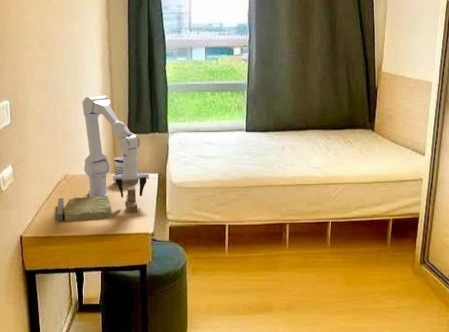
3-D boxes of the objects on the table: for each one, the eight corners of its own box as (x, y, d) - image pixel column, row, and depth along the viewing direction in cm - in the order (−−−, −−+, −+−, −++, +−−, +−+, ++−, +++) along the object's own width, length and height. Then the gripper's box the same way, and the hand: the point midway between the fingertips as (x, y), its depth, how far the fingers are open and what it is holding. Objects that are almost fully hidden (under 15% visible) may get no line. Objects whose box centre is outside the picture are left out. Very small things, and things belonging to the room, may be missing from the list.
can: (109, 182, 266) (108, 158, 263) (126, 177, 275) (125, 153, 272) (128, 186, 260) (127, 161, 257) (143, 180, 269) (143, 156, 266)
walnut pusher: (126, 201, 240) (126, 183, 237) (133, 200, 240) (133, 183, 238) (130, 213, 225) (129, 194, 222) (137, 213, 225) (136, 194, 223)
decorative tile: (109, 202, 238) (108, 194, 237) (112, 218, 220) (111, 210, 219) (63, 205, 234) (63, 197, 233) (63, 222, 215) (62, 213, 214)
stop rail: (59, 205, 233) (58, 198, 232) (63, 204, 233) (63, 198, 233) (57, 221, 214) (56, 214, 213) (62, 221, 215) (62, 213, 214)
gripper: (112, 167, 222) (114, 200, 226) (149, 165, 226) (150, 197, 229) (111, 163, 229) (113, 195, 233) (147, 161, 233) (148, 192, 236)
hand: (131, 196), depth 231 cm, fingers open, 7 cm apart
